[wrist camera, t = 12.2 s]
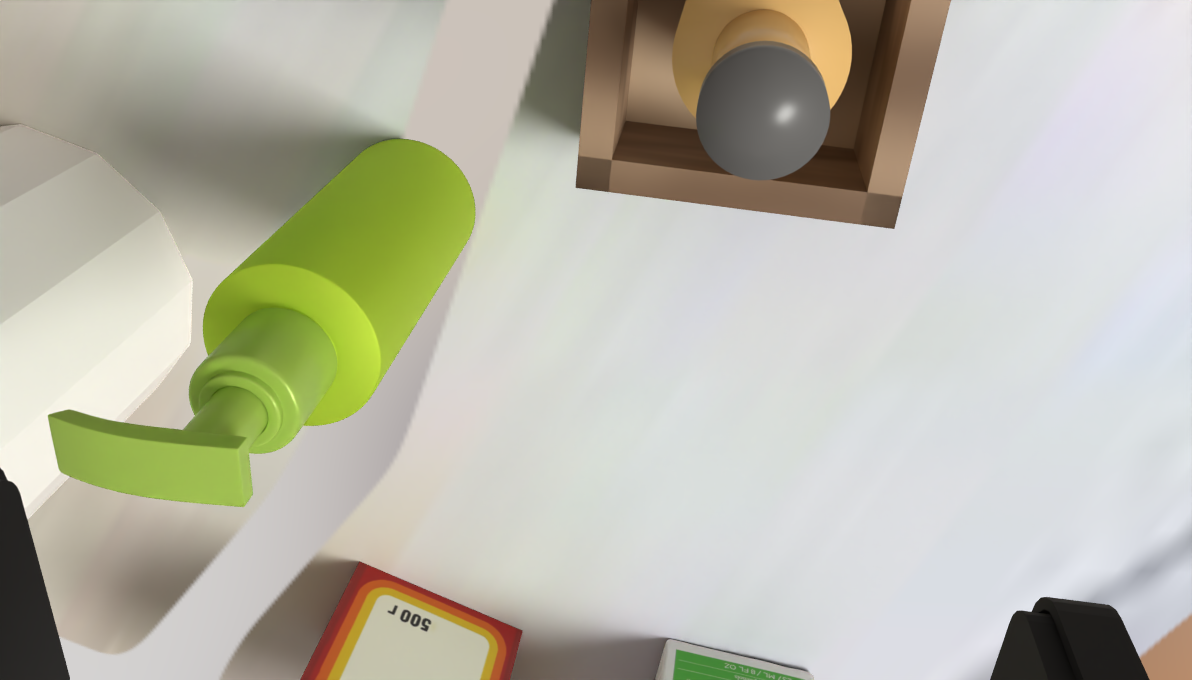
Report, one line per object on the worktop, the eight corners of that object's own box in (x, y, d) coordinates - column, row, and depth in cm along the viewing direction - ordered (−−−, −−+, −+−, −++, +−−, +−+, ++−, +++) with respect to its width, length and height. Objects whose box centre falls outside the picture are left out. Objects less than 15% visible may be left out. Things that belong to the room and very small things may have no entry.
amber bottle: (699, -83, 36) (669, -7, 23) (844, -66, 36) (896, 20, 23) (679, 62, 39) (643, 203, 26) (815, 79, 39) (847, 230, 26)
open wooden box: (622, -163, 36) (604, -157, 31) (947, -129, 35) (979, -117, 30) (594, 142, 41) (575, 187, 37) (876, 177, 41) (894, 228, 36)
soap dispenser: (316, 127, 43) (20, 356, 25) (477, 147, 42) (289, 394, 25) (322, 255, 45) (60, 541, 28) (474, 275, 45) (303, 579, 27)
